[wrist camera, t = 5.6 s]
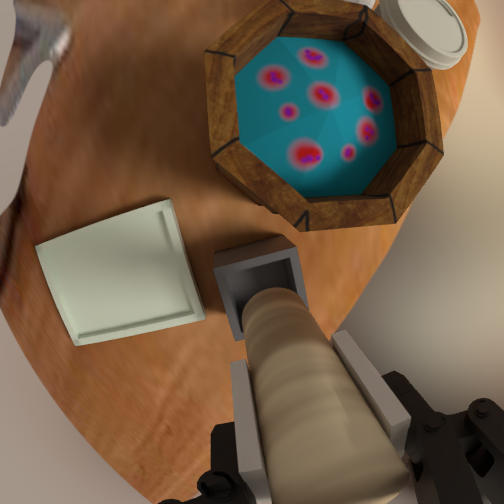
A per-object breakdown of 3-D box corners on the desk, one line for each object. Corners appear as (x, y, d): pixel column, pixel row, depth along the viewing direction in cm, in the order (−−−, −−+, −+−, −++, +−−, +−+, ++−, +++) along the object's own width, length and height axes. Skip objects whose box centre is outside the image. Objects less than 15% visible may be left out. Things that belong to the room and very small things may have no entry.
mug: (323, 226, 29) (409, 270, 14) (190, 185, 27) (154, 189, 12) (371, 60, 25) (457, 6, 11) (254, 14, 23) (278, -82, 9)
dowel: (234, 297, 19) (261, 500, 5) (300, 279, 19) (419, 445, 6) (251, 352, 20) (287, 539, 7) (311, 335, 20) (400, 501, 7)
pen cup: (214, 252, 28) (212, 268, 23) (282, 234, 29) (296, 246, 23) (232, 314, 30) (235, 341, 25) (296, 297, 30) (311, 320, 25)
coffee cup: (414, 66, 26) (481, 36, 14) (381, 109, 27) (454, 83, 15) (361, 16, 24) (413, -34, 12) (321, 54, 25) (372, -2, 13)
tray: (41, 243, 26) (34, 246, 25) (171, 198, 27) (168, 199, 26) (79, 340, 29) (75, 346, 28) (206, 313, 30) (205, 319, 29)
